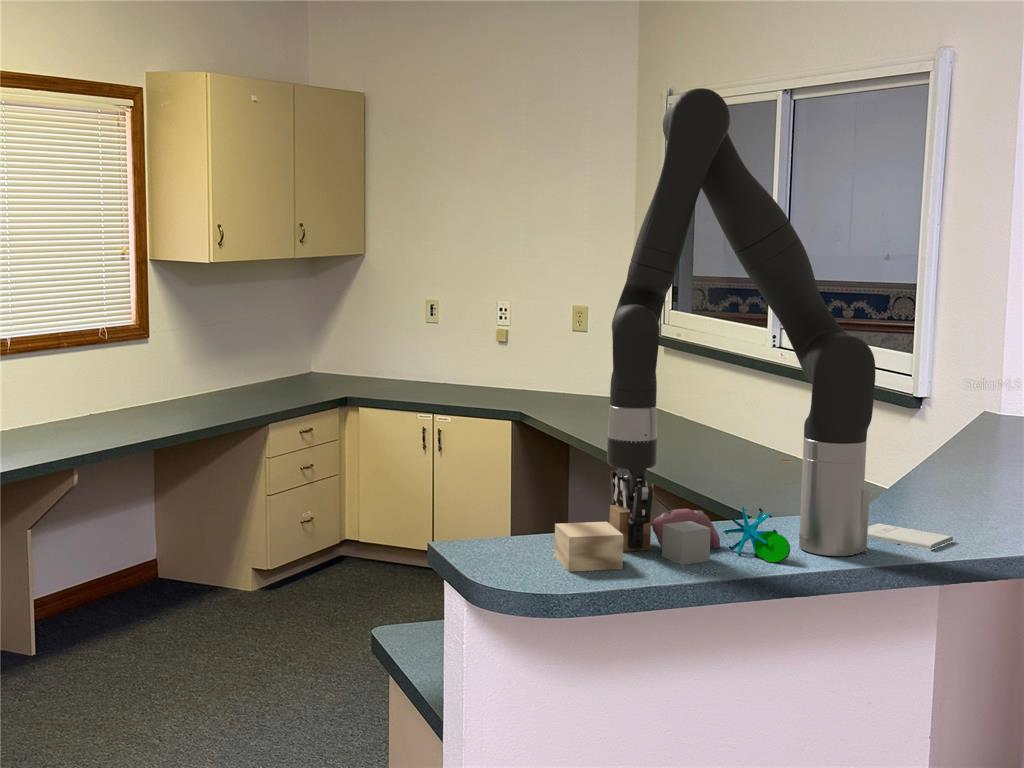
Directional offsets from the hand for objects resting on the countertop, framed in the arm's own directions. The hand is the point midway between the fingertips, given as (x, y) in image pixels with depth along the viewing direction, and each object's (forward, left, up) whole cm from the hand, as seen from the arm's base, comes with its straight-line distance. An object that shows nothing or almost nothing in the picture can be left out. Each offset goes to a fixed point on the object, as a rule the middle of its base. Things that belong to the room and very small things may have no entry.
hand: (629, 543), depth 171 cm
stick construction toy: (-19, +8, -1) cm, 20 cm away
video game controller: (-8, +2, -1) cm, 9 cm away
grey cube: (-6, +8, -1) cm, 10 cm away
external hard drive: (-45, +3, -1) cm, 45 cm away
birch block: (+9, +8, 0) cm, 12 cm away
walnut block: (0, 0, 0) cm, 0 cm away
